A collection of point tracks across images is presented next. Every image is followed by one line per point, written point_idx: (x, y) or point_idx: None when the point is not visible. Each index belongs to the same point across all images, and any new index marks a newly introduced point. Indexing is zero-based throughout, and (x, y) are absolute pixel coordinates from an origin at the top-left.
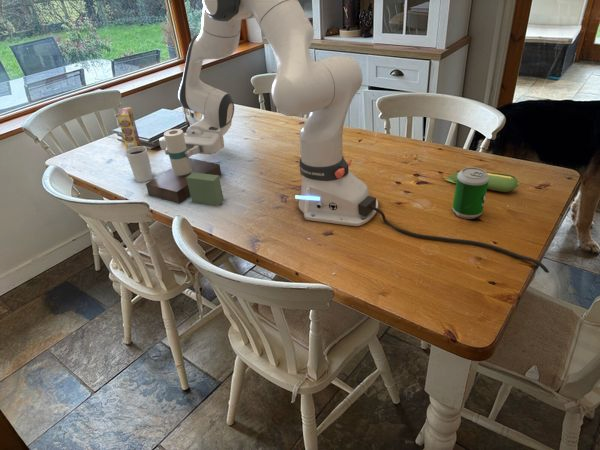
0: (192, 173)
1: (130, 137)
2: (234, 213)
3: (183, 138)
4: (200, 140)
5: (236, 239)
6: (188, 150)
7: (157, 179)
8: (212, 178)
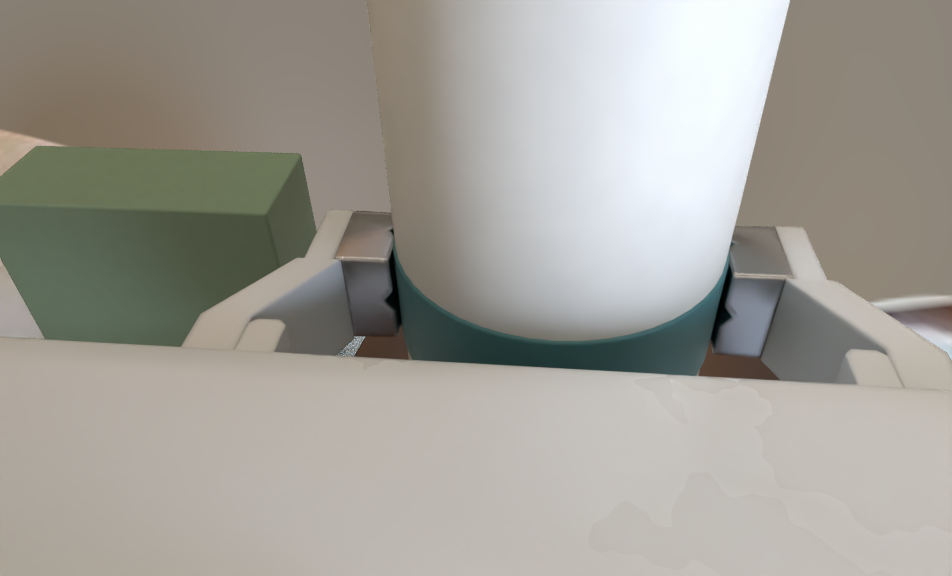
0: (258, 198)
1: None
2: (5, 284)
3: (371, 29)
4: (111, 473)
5: (20, 152)
6: (344, 237)
7: (752, 364)
8: (41, 164)
